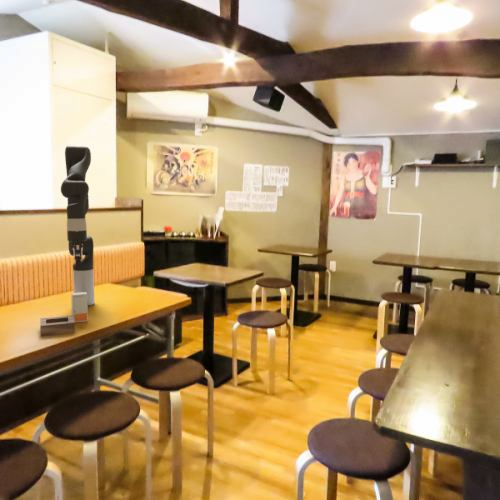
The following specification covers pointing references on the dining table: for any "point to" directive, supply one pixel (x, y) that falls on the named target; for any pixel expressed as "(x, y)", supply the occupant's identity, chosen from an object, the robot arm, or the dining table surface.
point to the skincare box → (79, 307)
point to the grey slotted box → (57, 325)
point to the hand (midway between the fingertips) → (78, 268)
